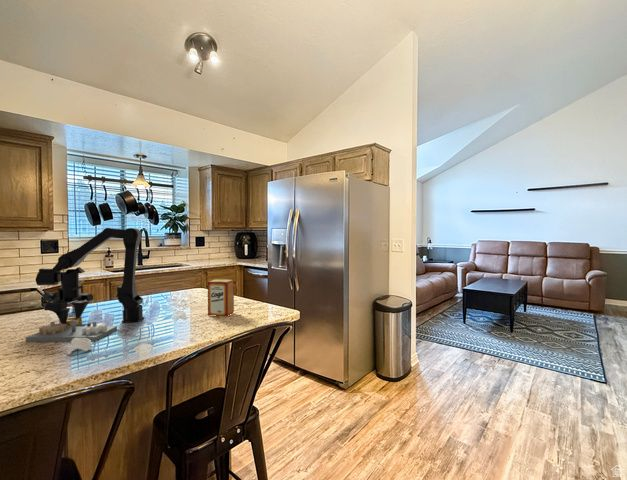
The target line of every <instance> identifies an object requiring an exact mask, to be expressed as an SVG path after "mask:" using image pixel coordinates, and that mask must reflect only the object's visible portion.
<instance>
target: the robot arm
mask: <svg viewBox="0 0 627 480" xmlns="http://www.w3.org/2000/svg"><path fill="white" fill-rule="evenodd" d="M142 237H143V234H142V231H141V230H140V229H138V228H135V227H128V228H126V229H123V228H114V227H105V228H104V229H103V230H102V231H101V232H99V233H98V234H97V235H95V236H93V237H92V238H91V239H89V240H88V241H87V242H85V243H83V244H82V245H80V246H79V247H77V248H75V249H73V250H70V251H68V252H65V253H64V254H61V255H60V256H59V257H58V258H57V263H55V265H54V266H53V268H45V267H42V268H39V269H38V272H37V273H36V277H35V284H36V285H37V286H40V287H42V286H43V287H44V286H57V285H58V284H59V283H60V287H58V288H57V291H56V292H51V291H47V292H45V293H43V295H42V300H43V301H44V302H46V303H45V304H44V305H43V306H44V311H49V312H53V313H54V314H56V316H57V318H58V321H59V320H60V322H61V323H62V324H66V322H67V318H69V315H70V314H69V312H70V310H71V308H70V307H68V305H70V304H71V306H72V305H73V306H74V308H75V312H74V314H75V317H79V316H80V317H81V318H82V316H83V314H84V311H85V309H86V308H87V306H88V305H89V303H90V302H91V301H92V300H94V295H93V294H92V293H81V294H79V289H80V288H81V289H82V288H83V287H82V285H81V286H79V279H80V276H79V275H80V274H83V273H85V272H86V270H85V269H83V268H81V266H79V265H81V263H82V262H83V261H84V260H85V259H86V258H87V257H88V255H89V254H90V253H92V252H93V251H94V250H96V249H98V248H99V247H101V246H102V245H103V244H105V243H106V242H107V241H109V240H110V239H112V238H115V239H122V242H123V245H124V248H125V249H124V250H125V253H124V264H123V265H124V266H123V267H124V268H123V278H122V283H121V285H119V286H117V287H116V296H115V297H116V298H117V301H118V303H120V304H121V305H122V306H123V310H122V320H121V323H138V322H140V321H142V320H144V319H145V318H146V317H145V316H144V315H143V314H144V313H143V312H144V311H143V310H144V309H143V305H142V303H143V301H144V298H143V297H141V296H140V295H139V294H138V289H137V288H138V287H137V285H136V281H135V280H136V271H137V269H136V268H137V255H138V249H139V246H140V243H141V240H142ZM78 266H79V267H78ZM74 267H76V268H74ZM65 270H66V271H65Z"/></svg>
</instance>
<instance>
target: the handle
mask: <svg viewBox="0 0 627 480" xmlns="http://www.w3.org/2000/svg"><path fill="white" fill-rule="evenodd" d="M84 282H85V278H79V286H82V285H81V284H83V283H84ZM79 294H82V288H80V289H79ZM71 308H72V309H71V310H72V311H71V312H74V313H75V308H74V306H73V305H72V304H71Z"/></svg>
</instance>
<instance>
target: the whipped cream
mask: <svg viewBox="0 0 627 480" xmlns="http://www.w3.org/2000/svg"><path fill="white" fill-rule="evenodd" d="M70 343H71V344H70V345H68V346H67V351H66V354H67V355H68V356H69V355H70V356H71V354H72V353H73V352H74V351H76V350H80V351H84V352H88V351H91V350H93V341H91V340H89V339H87V338H74V339H72V341H70Z"/></svg>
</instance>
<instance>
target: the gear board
mask: <svg viewBox="0 0 627 480" xmlns="http://www.w3.org/2000/svg"><path fill="white" fill-rule="evenodd" d="M107 324H108V323H103V322H99V323H97V321H96V320H95V321H92V323H91V322H87V325H84V326H79V325H78V326H76V320H73V321H72V326H71V327H66V324H62V323H59V322H58V323H56V322H55V321H50V323H49V324H47V325H42V326H41V327H39V329H38V331H39V332H37V333H33V334H31V335H27V336H25V342H28V343H30V342H32V343H33V342H39V343H41V342H71V341H72V339H74V338H87V339H89V340H91V342H97V341H99V340H101V339H102V338H104V337H106V336H109V335H111V334H112V333H114V332H116V331H118V325H113V326H109V325H107Z"/></svg>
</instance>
